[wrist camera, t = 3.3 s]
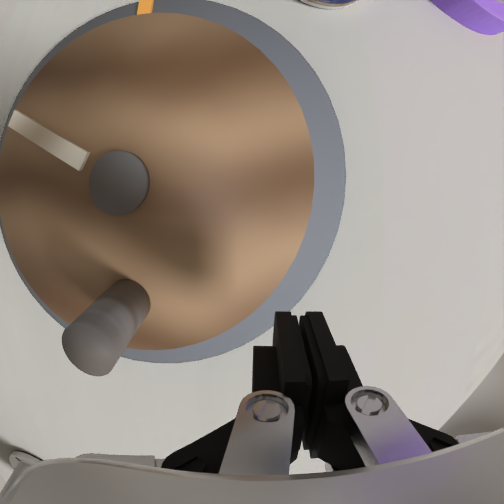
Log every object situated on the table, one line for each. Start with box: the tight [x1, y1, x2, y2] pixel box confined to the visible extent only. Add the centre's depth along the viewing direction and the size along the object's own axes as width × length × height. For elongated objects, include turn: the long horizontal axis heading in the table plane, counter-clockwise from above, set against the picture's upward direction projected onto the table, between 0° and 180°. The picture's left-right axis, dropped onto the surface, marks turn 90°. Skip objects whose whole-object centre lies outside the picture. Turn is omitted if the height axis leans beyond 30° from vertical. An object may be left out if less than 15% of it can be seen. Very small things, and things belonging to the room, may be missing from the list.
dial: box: [0, 13, 314, 376], centre depth 12 cm, size 18×18×6 cm
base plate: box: [0, 0, 346, 363], centre depth 16 cm, size 22×22×2 cm
